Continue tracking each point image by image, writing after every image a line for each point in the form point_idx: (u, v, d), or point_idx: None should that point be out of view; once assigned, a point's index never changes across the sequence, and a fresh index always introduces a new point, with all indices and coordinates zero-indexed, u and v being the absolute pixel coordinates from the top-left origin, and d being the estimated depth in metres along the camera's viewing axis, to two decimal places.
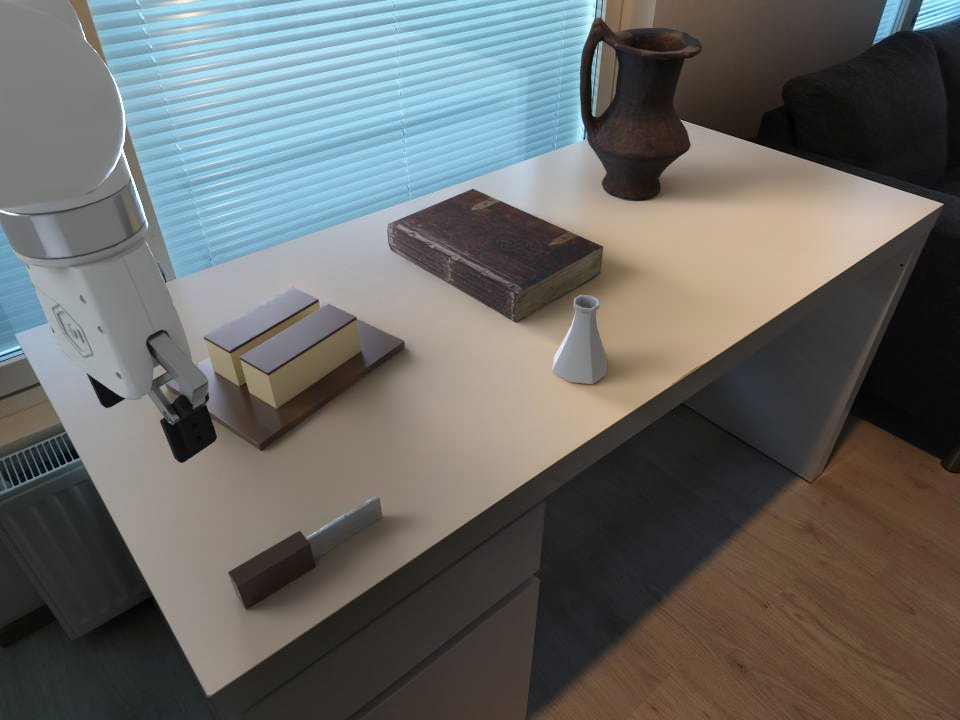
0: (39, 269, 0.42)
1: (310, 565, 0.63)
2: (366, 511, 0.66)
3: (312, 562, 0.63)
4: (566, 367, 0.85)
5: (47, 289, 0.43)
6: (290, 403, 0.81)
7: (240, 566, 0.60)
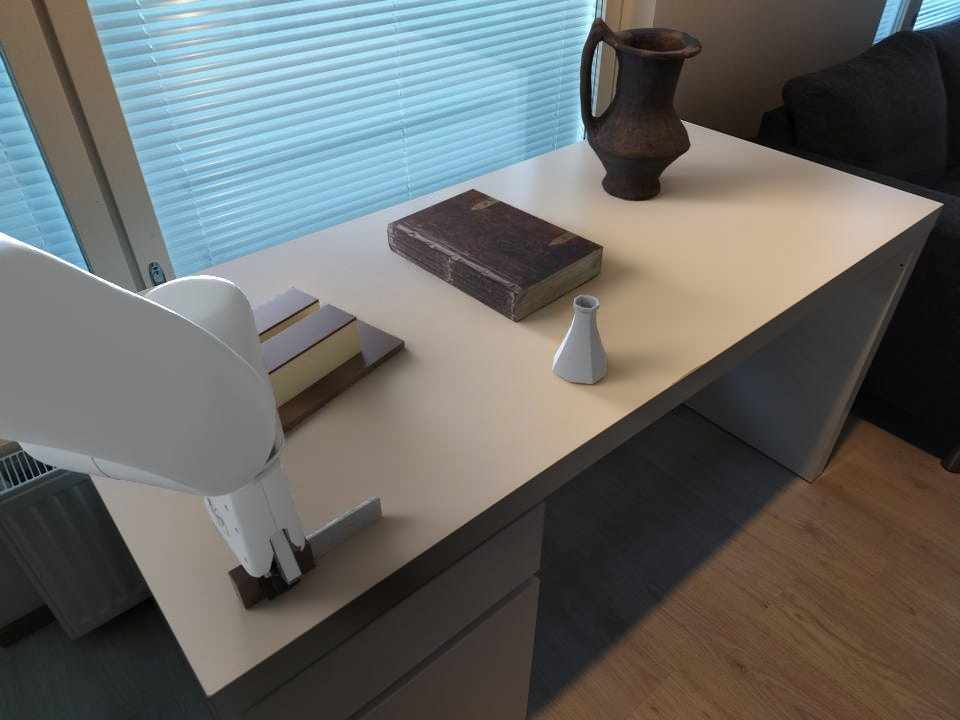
0: None
1: (310, 565, 0.63)
2: (366, 511, 0.66)
3: (312, 562, 0.63)
4: (566, 367, 0.85)
5: None
6: (290, 403, 0.81)
7: (240, 566, 0.60)
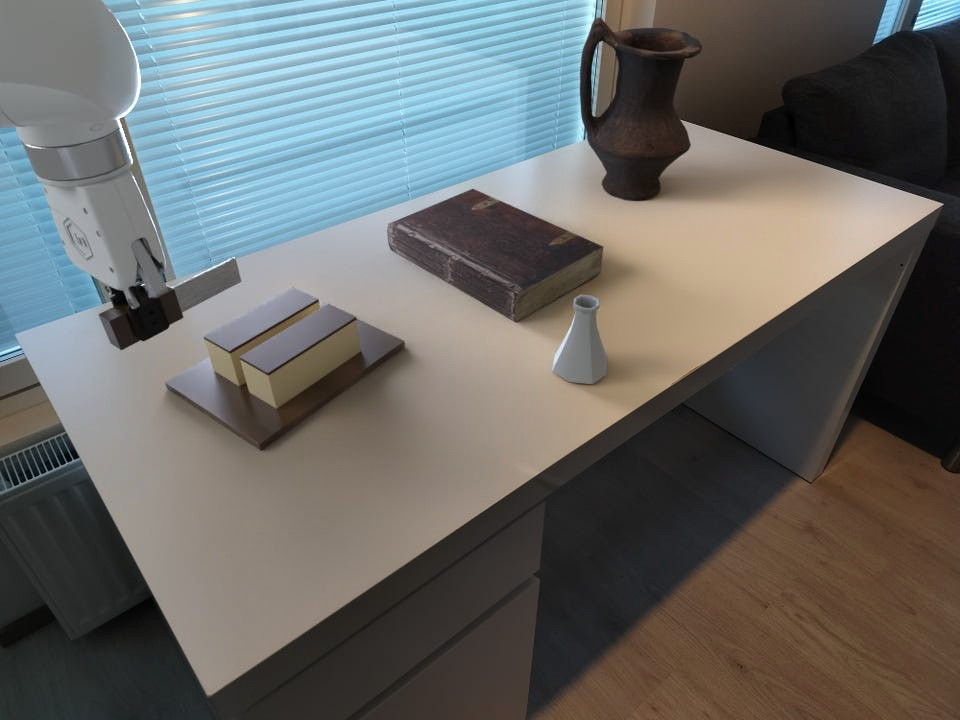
0: (54, 191, 0.58)
1: (178, 314, 0.70)
2: (224, 270, 0.74)
3: (179, 311, 0.70)
4: (566, 367, 0.85)
5: (60, 207, 0.59)
6: (290, 403, 0.81)
7: (110, 309, 0.66)
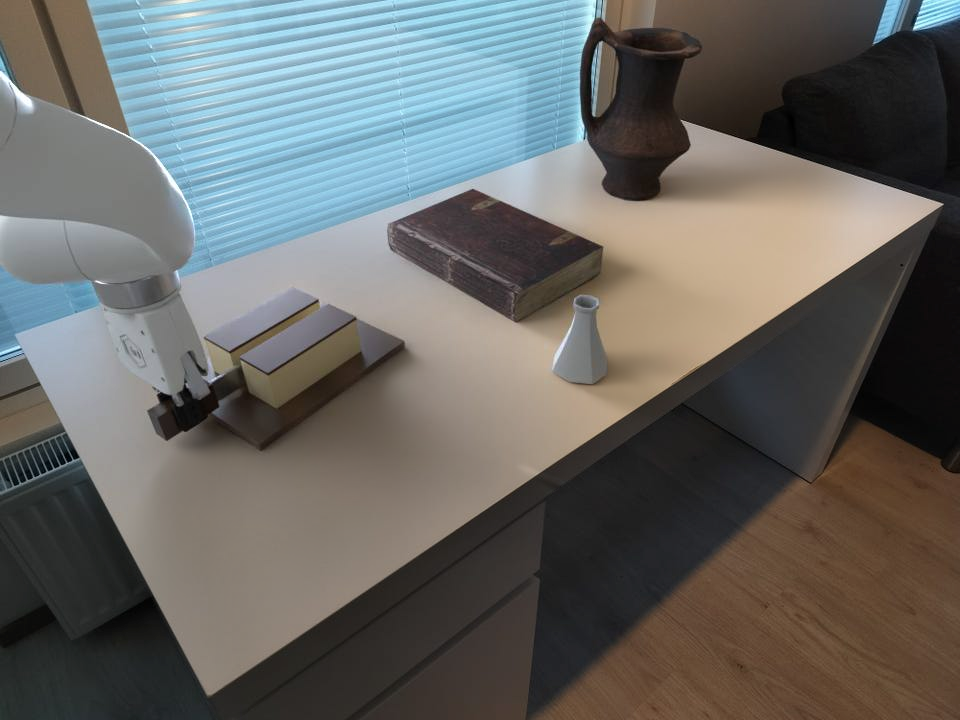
0: (114, 313, 0.67)
1: (215, 405, 0.79)
2: None
3: (216, 402, 0.79)
4: (566, 367, 0.85)
5: (118, 325, 0.68)
6: (290, 403, 0.81)
7: (156, 405, 0.74)
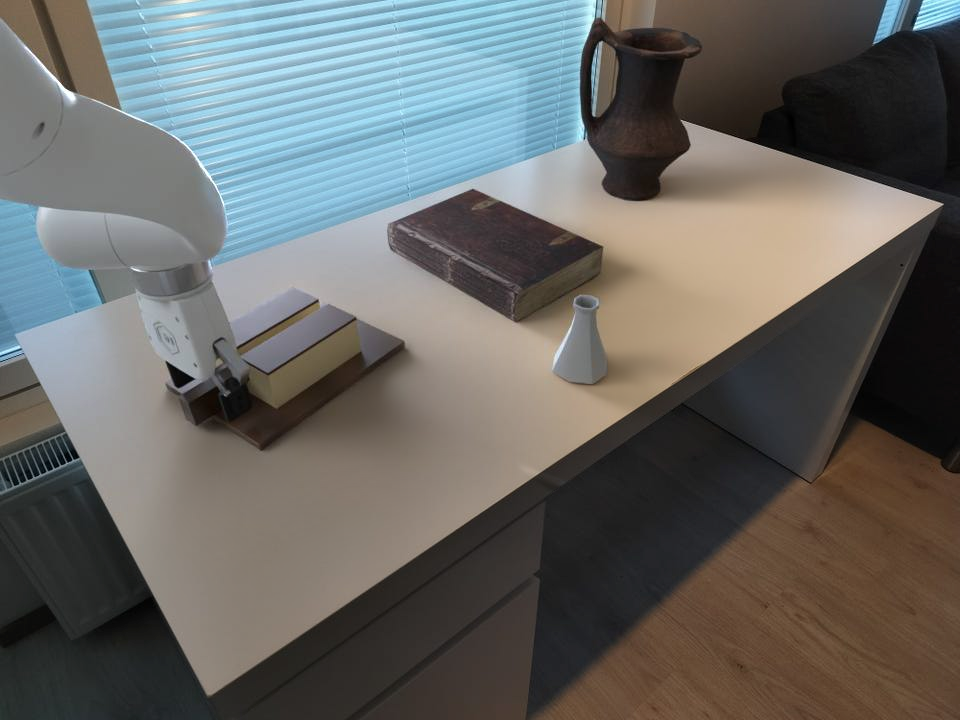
0: (149, 301, 0.69)
1: None
2: None
3: None
4: (566, 367, 0.85)
5: (152, 312, 0.70)
6: (290, 403, 0.81)
7: (187, 392, 0.77)
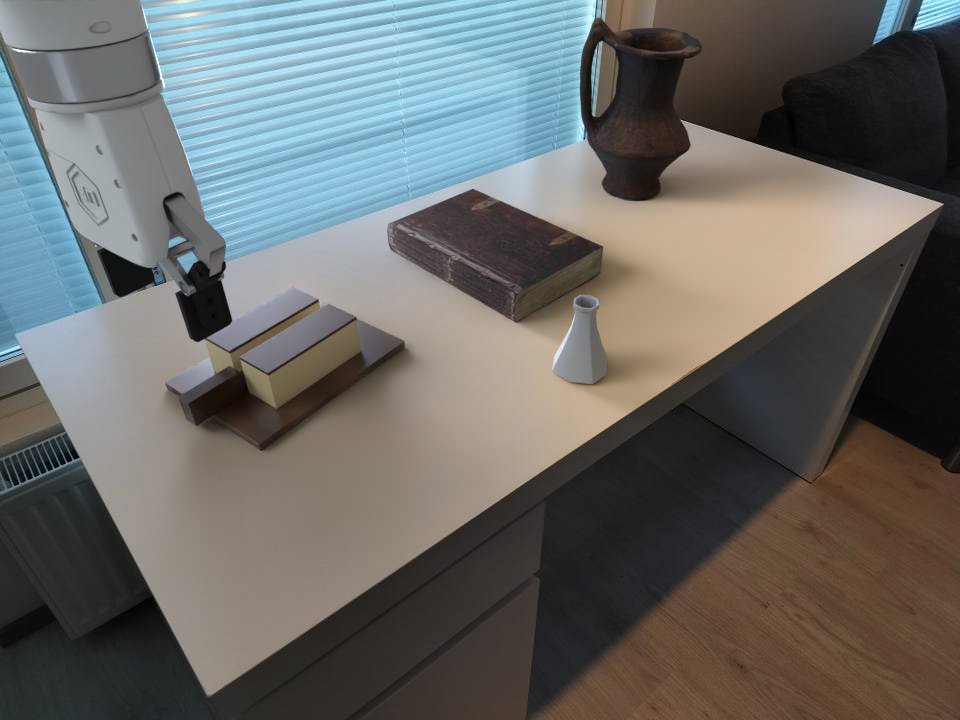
0: (54, 125, 0.41)
1: (242, 392, 0.81)
2: None
3: (243, 389, 0.81)
4: (566, 367, 0.85)
5: (62, 148, 0.42)
6: (290, 403, 0.81)
7: (187, 392, 0.77)
